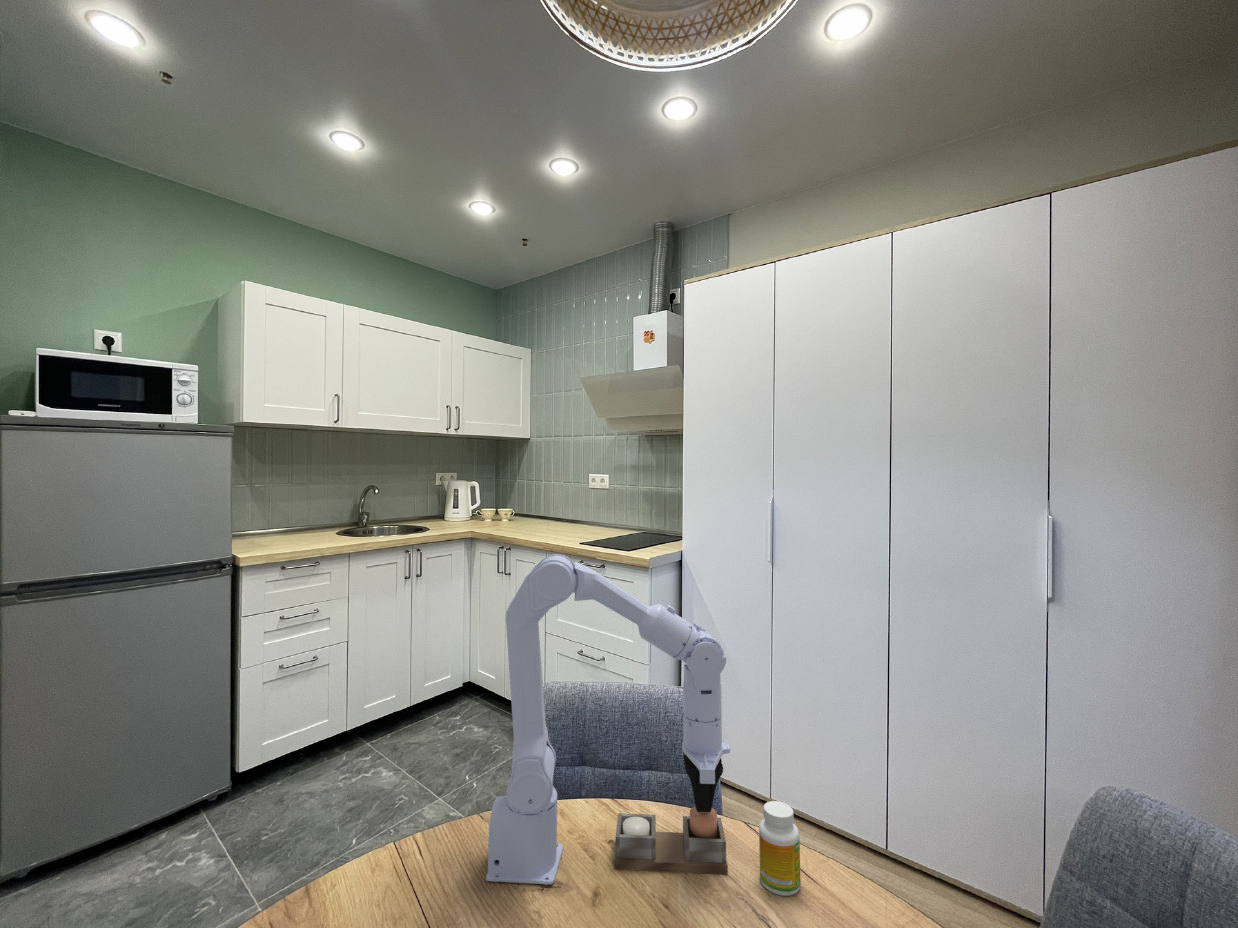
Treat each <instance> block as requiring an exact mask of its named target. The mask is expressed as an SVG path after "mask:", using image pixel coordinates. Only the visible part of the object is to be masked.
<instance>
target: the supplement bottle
mask: <svg viewBox="0 0 1238 928" xmlns="http://www.w3.org/2000/svg"><path fill="white" fill-rule="evenodd" d="M794 815H795V814H794V810H793V808H792V807H791V806H790V805H789V804H787V803H785V802H782V801H777V800H770V801H767V802H766V803H764V805H763V819H762V820H760V822H759V825H758V838H759V839H758V841H759V844H758V845H759V850H758V851H759V853H758V854H759V856H758V857H759V879H760V882H761V884H762V885H763V886H764V888H765V889H767V890H768V891H770V892H771V893H773V894H775V895H778V896H783V897H784V896H785V897H787V896H794V895H796V894H797V893H798V892H799V891H800V889H801V884H802V883H801V851H800V849H801V848H800V847H801V845H800V844H801V842H800V831H799V829H798V827H797V825H796V824H795V823H794V822H795V821H794V819H795V816H794Z"/></svg>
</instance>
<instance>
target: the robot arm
mask: <svg viewBox="0 0 1238 928" xmlns="http://www.w3.org/2000/svg"><path fill="white" fill-rule="evenodd" d="M574 562H575V563H574ZM574 562H573V561H572V559H570V558H569V557H568V556H566V555H564V554H560V553H553V554H549V555H547V556H545V557H544V558H543V559H542V560H540V562H539V563H537V564H536V565H535V566H534V567H533V568H532V569H531V570H530V571H529V573H528V574H527V575H526V576H525V578H524V579H523V582H522V583H521V585H520V587H519V588H518V590H517V592H516V594H515V595H514V597H513V598H512V600H511V601H510V603H509V606H508V608H507V609H506V612H505V625H506V626H505V627H506V639H507V640H506V642H507V655H508V671H509V686H510V688H509V689H510V701H511V713H512V714H511V715H512V729H513V730H512V731H513V743H512V755H511V756H512V758H511V759H512V760H511V764H512V765H511V766H512V768H511V769H512V770H511V775H510V778H509V779H508V783H507V787H506V795H504V796H498V797H496V798H495V800H494V803H493V804H492V808H491V812H490V817H489V823H488V843H487V844H488V845H487V846H488V848H487V850H488V851H487V874H486V875H485V876H486V877H485V880H486V881H487V882H500V883H501V882H502V883H516V884H517V883H518V884H536V885H553V884H554V883H555V880H556V877H557V873H558V869H559V866H560V862H561V858H562V854H563V851H564V845H563V844H562V843H557V842H558V792H557V789H556V788H555V786H554V785H553V784H554V783H553V781H554V772H555V768H556V765H557V764H556V763H557V755H556V751H555V749H554V747H553V746H552V744H551V743H550V740H549V731H548V728H547V722H546V709H545V696H544V694H545V693H544V683H543V680H544V679H543V669H542V667H543V666H542V654H541V641H540V639H541V638H540V626H539V621H541V620H542V618H543V617H544V616H545V615H546V614H547V613H548V612H549V610H551V609H552V608H554V607H556V606H558V605H560V604H561V603H564V602H565V601H566V600H568V599H569V598H570V597H571V596H572V594H573V593H574V599H573V600H574V601H575V602H581V601H590V600H593V601H596V602H597V603H599V604H601V605H602V606H604V607H606V608H607V609H610V610H611V611H613V612H615V613H616V614H618V615H620V616H621V617H623V618H625V619H627V620H629V621H630V622H632V623H634V624H636V626H637V627H638V632H639V636H640V638H641V639H643V640H645V641H646V642H647V643H649V644H651V645H653V646H654V647H656V648H657V649H658V650H660V651H662V652H664V653H665V654H666V655H669V656H670V657H671V658H673V659H674V660H679V661H682V662H683V663H685V664H684V665H683V682H682V683H683V684H682V690H683V692H682V694H683V696H682V699H683V702H682V705H683V706H682V707H683V708H682V709H683V712H682V713H683V715H682V717H683V720H682V721H683V722H682V723H683V741H682V743H681V744H682V745H681V746H682V752H683V762H684V763H683V764H684V769H685V772H686V775H687V776H688V779H689V780H690V784H691V788H692V793H693V800H694V806H696V810H697V812H711V809H712V808H713V804H714V800H715V793H716V789H717V785H718V783H719V780H720V778H721V777H722V775H723V773H724V766H723V763H722V757H723V755H724V754H730V753H731V746H730V744H729V743H728V742H723V726H722V725H723V724H722V723H723V721H722V718H723V717H722V715H723V713H722V709H723V707H722V684H721V681H722V680H721V673H722V672H723V670H724V669H725V667H726V663H727V657H725V653H724V649H723V648H722V645H721V644H720V643H719V642H718V641H717V640H716V639H715V638H714V637H713V636H712V635H711V634H710V633H709V632H707V631H706V629H704V628H702V627H701V625H699V624H698V623H697V622H694V623H693V624H692V623H691V622H689V621H688V620H686V619H685V618H683V617H681V616H680V615H678V614H677V613H676V611H677V610H676V609H675V607H673V606H672V605H670V604H666V605H665V606H664V605H663V604H661V603H657V604H653V605H646V604H645V603H643V602H642V601H641V600H639V599H638V598H636V597H635V596H633V595H632V594H630V593H629V592H627V591H626V590H624V589H623V588H621V587H620V586H618V585H617V584H615V583H614V582H612V581H611V580H609V579H608V578H607V577H605V576H603V575H602V574H601V573H599V572H598V571H596V570H594V569H592V568H590V567H588V566H586V565H584V563H580V562H577V561H574Z"/></svg>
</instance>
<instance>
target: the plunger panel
mask: <svg viewBox="0 0 1238 928" xmlns="http://www.w3.org/2000/svg"><path fill="white" fill-rule="evenodd" d="M630 817H642V818H644V819H646V820H647V821H648V822H649V825H650V836H643V835H623V822H624V821H625V820H626V819H627V818H630ZM656 818H657V817H656V814H645V813H644V814H643V813H626V812H625V813H623V812H622V813H618V814H617V820H616V821H617V822H616V827H615V828H616V829H615V839H614V840H615V843H614V844H615V847H614V848H615V849H614V851H615V853H614V859H613V860H614V861H613V862H614V864H613V867H614V868H613V869H614V870H626V871H628V870H629V871H643V872H645V871H646V872H661V873H662V872H666V873H683V874H684V873H685V874H689V873H690V874H701V875H702V874H703V875H704V874H706V875H707V874H708V875H723V876H728V872H729V871H728V870H729V869H728V861H727V841H726V837H725V831H724V826H723V821H722V817H717V834H716V835H715V836H714V837H712V838H699V837H697V836H695V835H693V834H692V833H691V831H690V815H689V816H688V815H683V816H682V832H678V831H677V832H675V831H673V832H671V831H656V830H657V827H656V824H657V822H656Z"/></svg>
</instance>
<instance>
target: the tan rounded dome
mask: <svg viewBox="0 0 1238 928" xmlns="http://www.w3.org/2000/svg"><path fill="white" fill-rule="evenodd" d="M689 816H690V831H691V833H692V834H693V835H695V836H697V837H699V838H712V837H714V836H715V835H716V834H717V818H718V813H717V811H716V809H714V808H713V807H712V809H711V812H697V810H696V806H695V805H694V806H692V807H691V808H690V809H689Z"/></svg>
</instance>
